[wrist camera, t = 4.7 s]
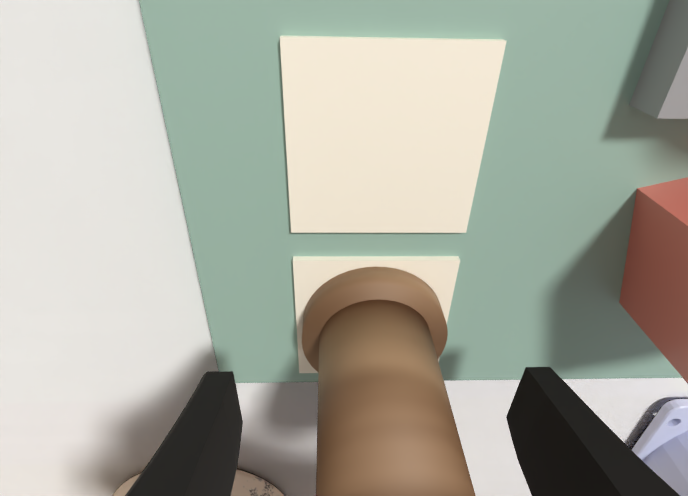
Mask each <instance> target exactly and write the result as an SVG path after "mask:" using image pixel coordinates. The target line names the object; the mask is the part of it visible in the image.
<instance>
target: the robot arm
mask: <svg viewBox="0 0 688 496" xmlns="http://www.w3.org/2000/svg"><path fill="white" fill-rule="evenodd" d="M506 418H507V421H508V425H509V429H510V433H511V437H512V441H513V444H514V448H515V451H516V455H517V458H518V461H519V464H520V466H521V469H522V471H523V474H524V476H525V479H526V481H527V484H528V486H529V489H530V492H531V494H532V496H688V399H675V400H671V401H668V402H667V403H665V404H664V405H663V406H662V407H661V409H660V410H659V411H658V413H657V414H656V416H655V417H654V418H653V420H652V421H651V423H650V424H649V426H648V427H647V428H646V430H645V431H644V433H643V434H642V436H641V437H640V438H639V440H638V441H637V443H636V444H635V446H634V447H633V448H632V450H631V449H630V448H629V447H628V446H627V445H626V444H625V443H624V442H623V441H622V440H621V439H620V438H619V437H618V436H617V435H616V434H615V433H614V432H613V431H612V430H611V429H610V428H609V427H608V426H607V425H606V424H605V423H604V422H603V421H602V420H601V419H600V418H599V417H598V416H597V415H596V414H595V413H594V412H593V411H592V410H591V409H590V408H589V407H588V406H587V405H586V404H585V403H584V402H583V401H582V400H581V399H580V398H579V396H578V395H577V394H576V393H575V392H574V391H573V390H572V389H571V388H570V387H569V386H568V385H567V384H566V383H565V382H564V381H563V380H562V379H561V378H560V377H559V376H558V375H557V374H556V373H555V372H554V370H553V369H552V368H551V367H526V368H525V370H524V373H523V375H522V378H521V381H520V383H519V386H518V388H517V391H516V394H515V396H514V399H513V401H512V404H511V407H510V409H509V412H508V414H507V417H506ZM242 424H243V421H242V416H241V411H240V406H239V400H238V395H237V390H236V384H235V379H234V374H233V371H225V372H207V373H206V374H204V375H203V377H202V379H201V381H200V383H199V384H198V386H197V388H196V390H195V391H194V393H193V395H192V397H191V398H190V400H189V402H188V403H187V405H186V407H185V408H184V410H183V412H182V413H181V415H180V416H179V418H178V420H177V421H176V423H175V424H174V426H173V428H172V429H171V431H170V432H169V434H168V435H167V437H166V438H165V440H164V441H163V443H162V444H161V446H160V447H159V449H158V450H157V452H156V453H155V455H154V456H153V458H152V459H151V460H150V462H149V463H148V465H147V466H146V468H145V469H144V470H143V472H142V473H141V474H140V476H139V477H138V479H137V480H136V481H135V483H134V484H133V485H132V487H131V488H130V489H129V491H128V492H127V494H126V495H125V496H231V492H232V488H233V483H234V479H235V474H236V470H237V465H238V457H239V449H240V441H241V432H242Z"/></svg>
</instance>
